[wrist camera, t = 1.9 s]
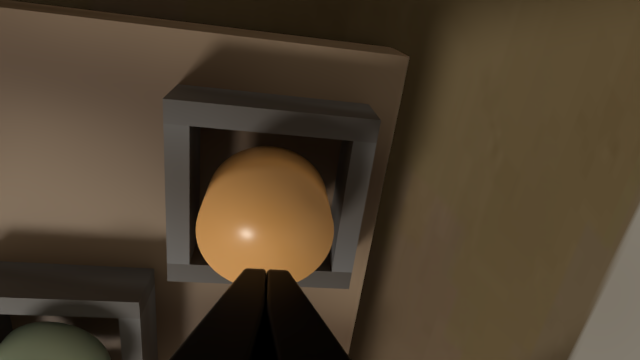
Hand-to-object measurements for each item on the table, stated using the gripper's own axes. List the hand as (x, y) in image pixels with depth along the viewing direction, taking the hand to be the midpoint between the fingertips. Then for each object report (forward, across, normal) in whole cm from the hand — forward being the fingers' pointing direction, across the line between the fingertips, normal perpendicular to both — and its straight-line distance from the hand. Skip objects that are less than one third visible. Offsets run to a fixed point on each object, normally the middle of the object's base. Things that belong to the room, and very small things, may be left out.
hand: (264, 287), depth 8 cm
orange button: (+3, 0, 0) cm, 3 cm away
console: (+7, +3, +6) cm, 9 cm away
